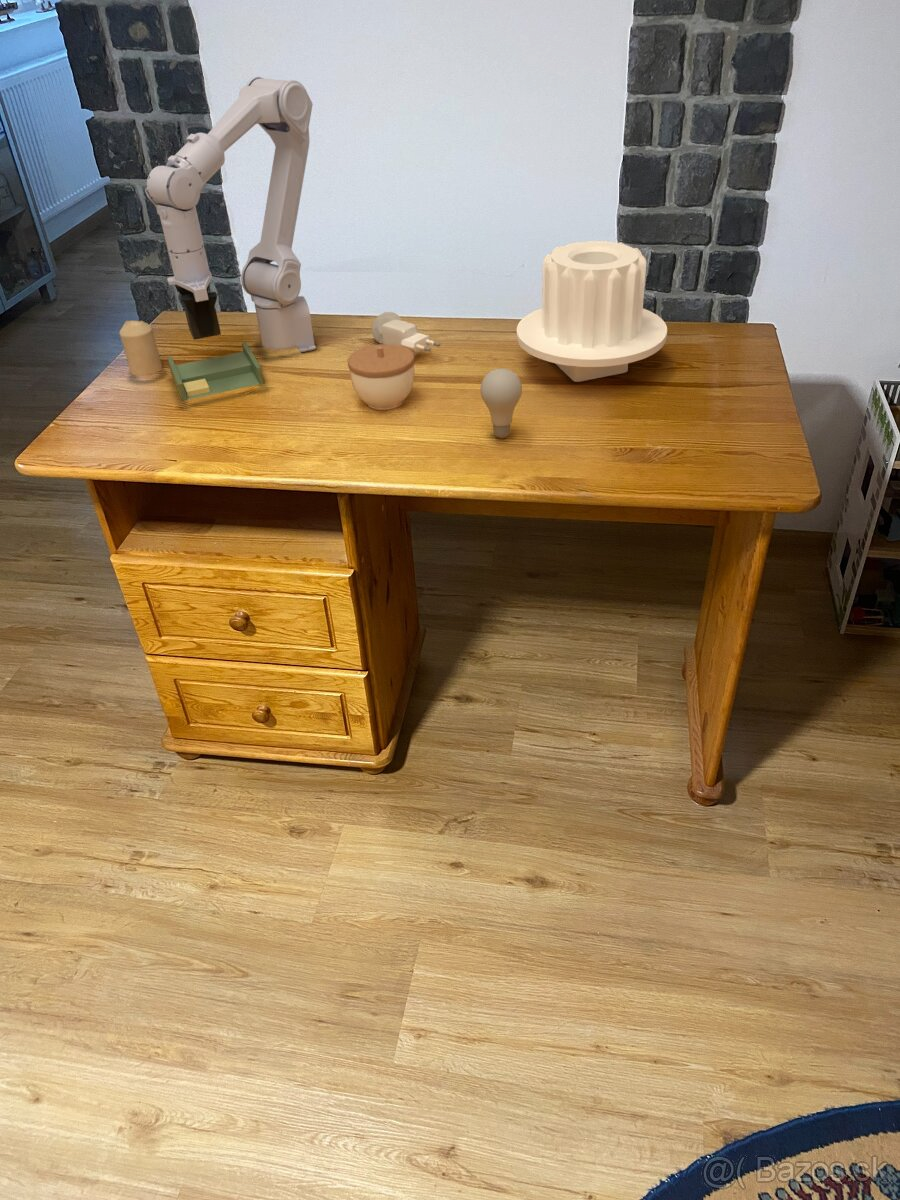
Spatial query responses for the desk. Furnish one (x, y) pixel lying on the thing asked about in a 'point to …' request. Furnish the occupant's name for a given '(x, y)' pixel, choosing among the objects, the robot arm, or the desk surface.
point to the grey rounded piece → (379, 323)
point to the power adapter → (406, 336)
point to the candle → (140, 348)
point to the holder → (193, 326)
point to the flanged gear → (592, 311)
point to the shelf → (219, 372)
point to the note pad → (196, 387)
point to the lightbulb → (501, 398)
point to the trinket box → (382, 375)
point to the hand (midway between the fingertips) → (204, 329)
